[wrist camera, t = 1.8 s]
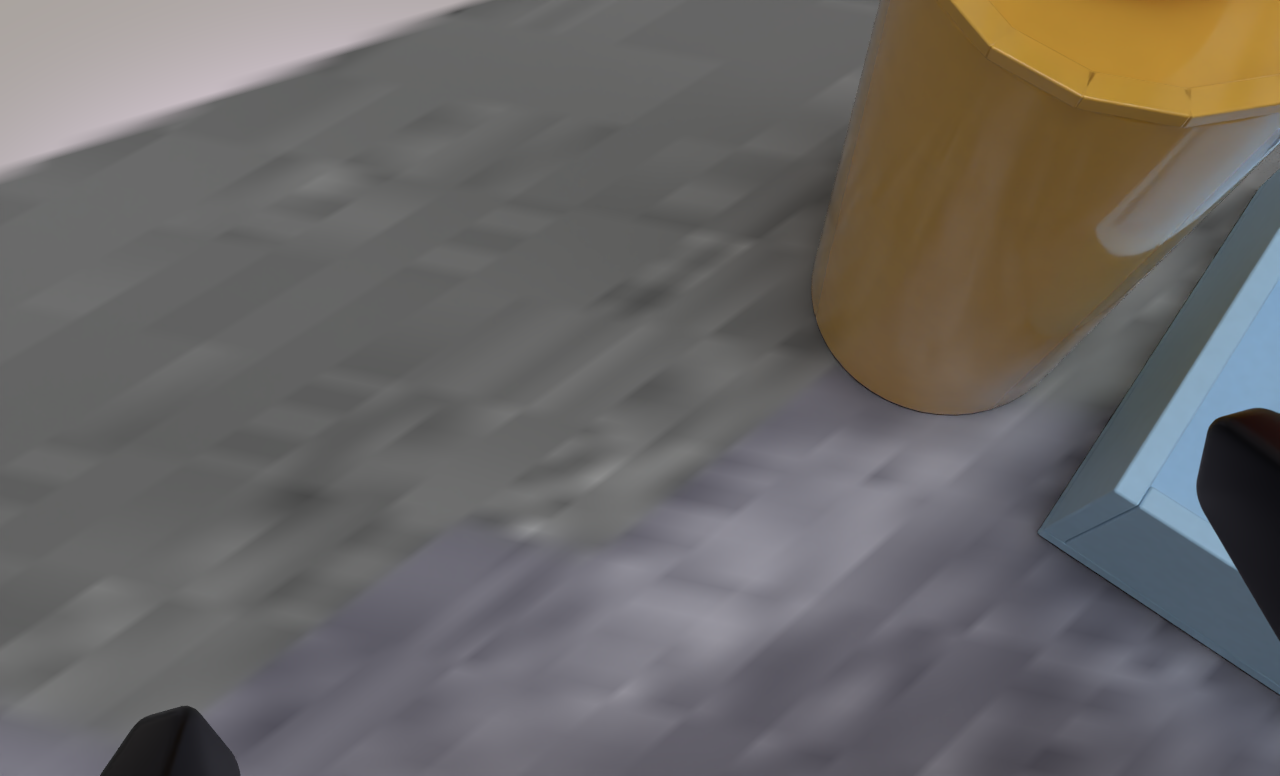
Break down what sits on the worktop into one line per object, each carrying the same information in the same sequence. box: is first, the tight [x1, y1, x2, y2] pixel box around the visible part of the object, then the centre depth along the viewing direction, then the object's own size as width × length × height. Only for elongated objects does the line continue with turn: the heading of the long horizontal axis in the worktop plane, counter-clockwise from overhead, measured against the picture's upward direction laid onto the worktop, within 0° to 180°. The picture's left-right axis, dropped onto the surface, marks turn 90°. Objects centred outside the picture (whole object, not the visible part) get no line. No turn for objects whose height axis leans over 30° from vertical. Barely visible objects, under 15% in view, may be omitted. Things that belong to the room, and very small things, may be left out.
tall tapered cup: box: [811, 0, 1280, 415], centre depth 19 cm, size 6×6×12 cm
